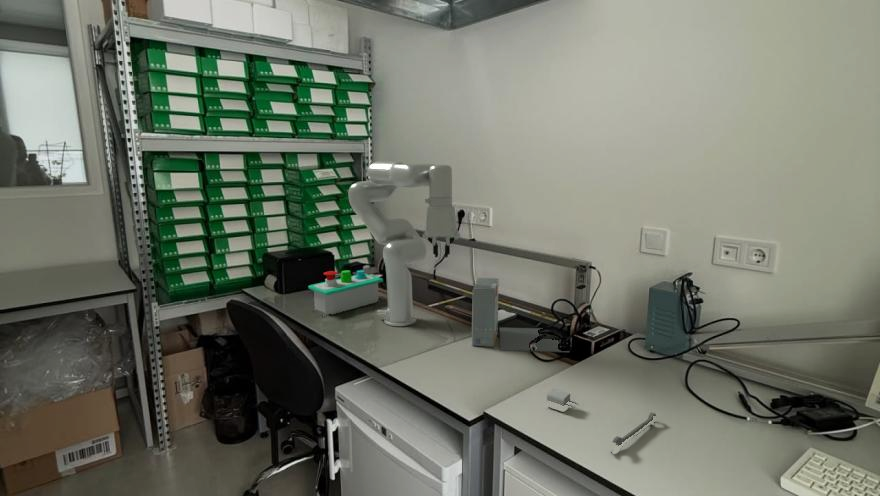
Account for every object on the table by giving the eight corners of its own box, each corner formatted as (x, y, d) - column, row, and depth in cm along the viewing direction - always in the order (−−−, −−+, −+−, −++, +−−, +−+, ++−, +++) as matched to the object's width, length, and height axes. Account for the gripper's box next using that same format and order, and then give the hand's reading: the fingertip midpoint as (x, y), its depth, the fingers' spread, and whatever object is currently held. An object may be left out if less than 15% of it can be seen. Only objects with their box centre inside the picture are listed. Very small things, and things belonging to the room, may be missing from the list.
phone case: (490, 328, 173) (518, 317, 183) (490, 324, 173) (518, 314, 183) (473, 322, 180) (501, 312, 190) (473, 318, 180) (501, 308, 190)
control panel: (384, 265, 203) (324, 278, 182) (386, 301, 206) (326, 318, 185) (364, 260, 213) (304, 271, 193) (365, 294, 216) (307, 310, 196)
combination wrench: (652, 408, 111) (607, 439, 98) (658, 410, 110) (613, 442, 97) (651, 422, 111) (606, 455, 99) (656, 425, 110) (612, 458, 98)
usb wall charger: (553, 401, 120) (554, 387, 119) (579, 410, 116) (580, 395, 115) (546, 408, 117) (547, 393, 116) (572, 417, 113) (573, 402, 112)
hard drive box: (494, 347, 154) (495, 290, 150) (471, 346, 156) (471, 288, 152) (498, 330, 169) (498, 277, 165) (477, 329, 171) (477, 276, 167)
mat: (500, 350, 152) (500, 349, 152) (499, 328, 172) (499, 327, 172) (569, 352, 150) (569, 351, 150) (560, 329, 169) (560, 328, 169)
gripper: (414, 203, 152) (416, 258, 156) (464, 203, 150) (464, 259, 154) (418, 201, 160) (419, 254, 163) (465, 201, 158) (466, 254, 161)
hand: (441, 256), depth 159 cm, fingers closed
